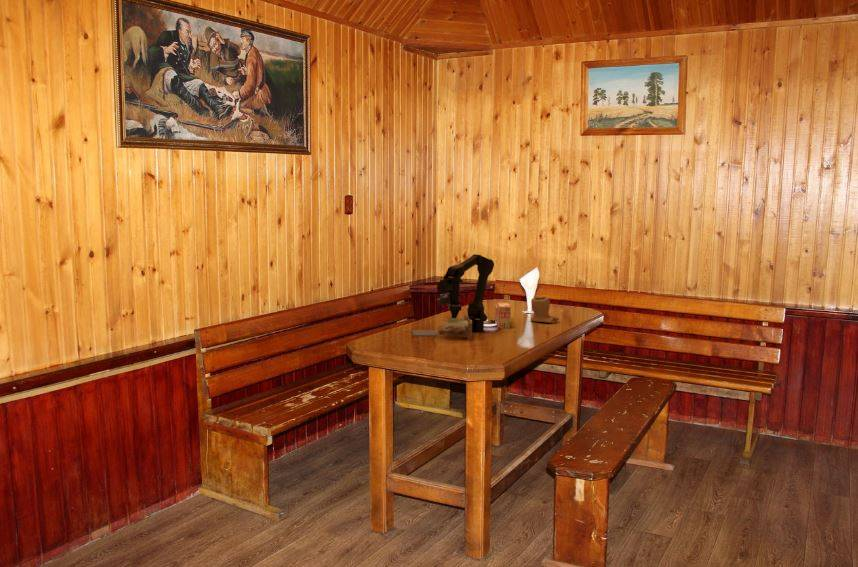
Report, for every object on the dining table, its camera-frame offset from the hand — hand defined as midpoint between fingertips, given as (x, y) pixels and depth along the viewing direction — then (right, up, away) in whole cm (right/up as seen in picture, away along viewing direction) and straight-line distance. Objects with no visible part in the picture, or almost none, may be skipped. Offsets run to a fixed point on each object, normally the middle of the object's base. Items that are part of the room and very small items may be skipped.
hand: (453, 321), depth 378 cm
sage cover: (+1, -1, -5) cm, 5 cm away
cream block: (-1, -6, +11) cm, 12 cm away
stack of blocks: (+29, -4, +36) cm, 46 cm away
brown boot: (+53, -3, +45) cm, 69 cm away
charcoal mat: (-15, -7, +5) cm, 17 cm away
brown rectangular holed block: (+1, -8, +4) cm, 9 cm away
